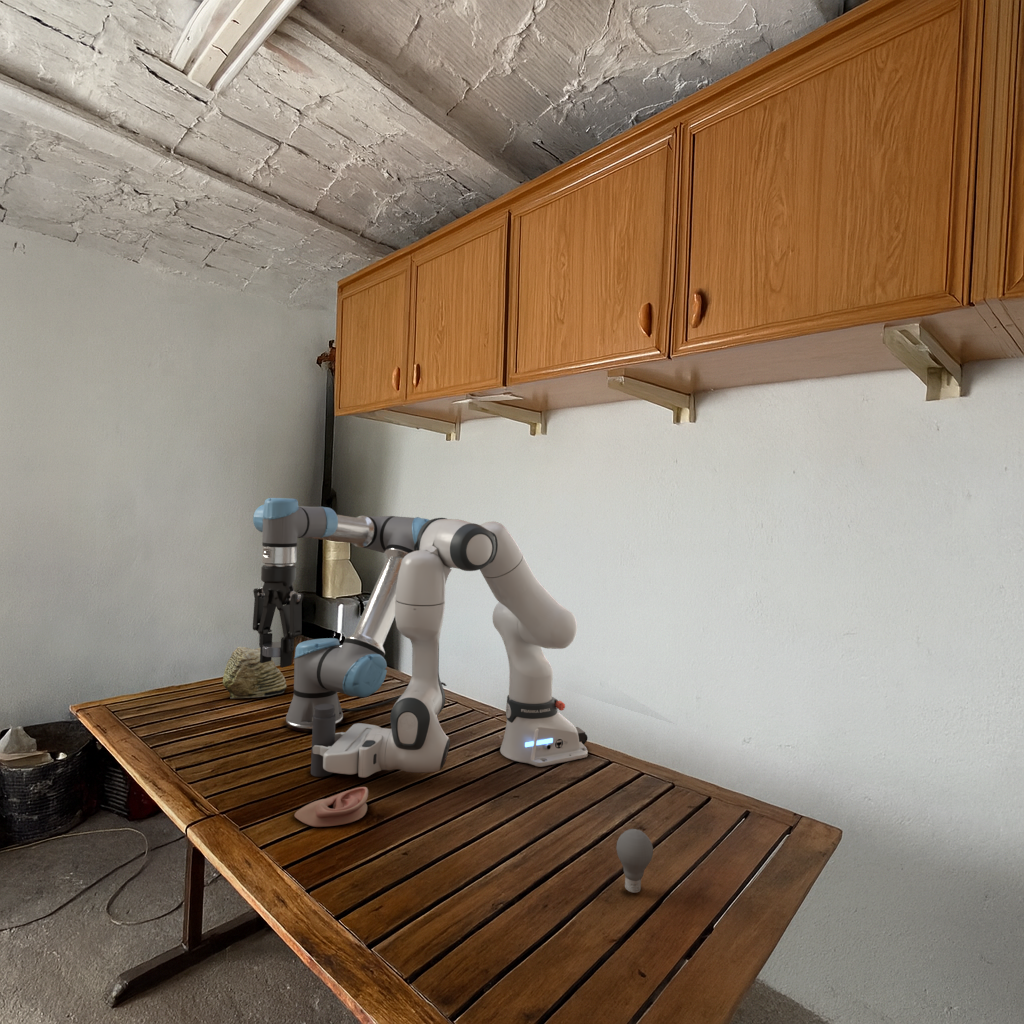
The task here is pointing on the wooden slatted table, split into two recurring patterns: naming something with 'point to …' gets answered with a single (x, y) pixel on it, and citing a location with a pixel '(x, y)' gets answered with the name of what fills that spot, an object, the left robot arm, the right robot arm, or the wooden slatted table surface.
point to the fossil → (252, 675)
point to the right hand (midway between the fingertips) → (319, 743)
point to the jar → (322, 735)
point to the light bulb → (634, 857)
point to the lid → (271, 649)
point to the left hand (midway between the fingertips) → (275, 663)
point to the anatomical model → (335, 809)
